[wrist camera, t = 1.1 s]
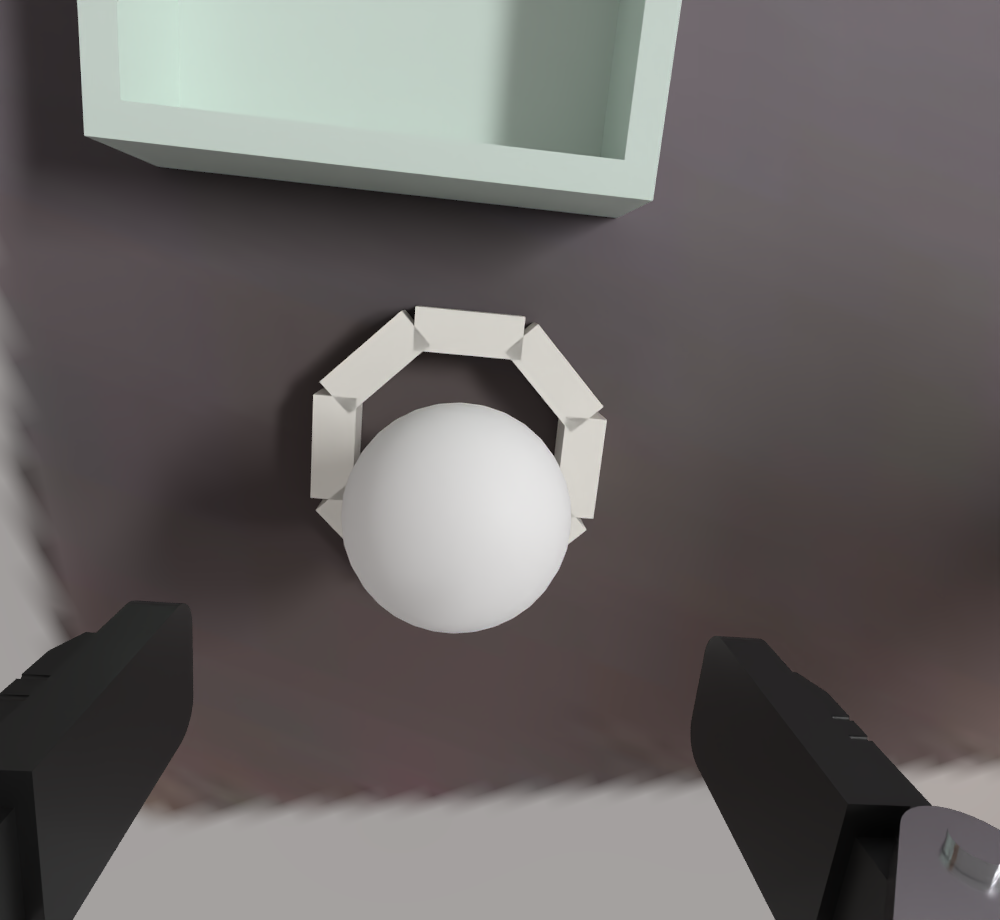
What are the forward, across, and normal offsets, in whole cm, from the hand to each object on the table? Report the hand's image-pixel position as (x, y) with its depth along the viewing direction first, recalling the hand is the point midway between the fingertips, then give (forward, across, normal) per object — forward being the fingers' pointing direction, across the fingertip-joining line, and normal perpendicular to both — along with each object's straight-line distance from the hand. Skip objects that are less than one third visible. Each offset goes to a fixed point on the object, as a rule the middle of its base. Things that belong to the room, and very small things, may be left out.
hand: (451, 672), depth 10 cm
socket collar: (+16, 0, 0) cm, 16 cm away
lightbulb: (+16, 0, 0) cm, 16 cm away
